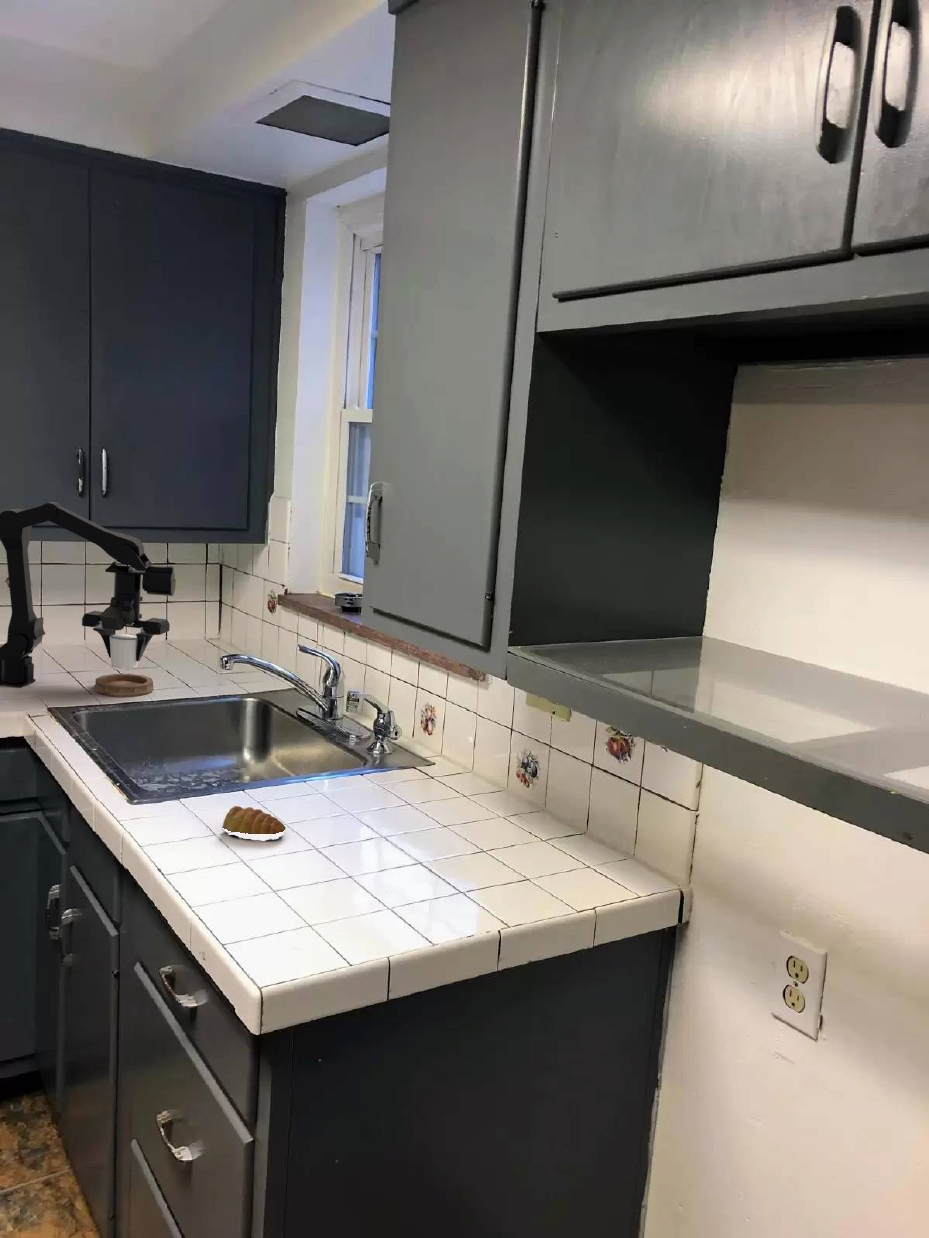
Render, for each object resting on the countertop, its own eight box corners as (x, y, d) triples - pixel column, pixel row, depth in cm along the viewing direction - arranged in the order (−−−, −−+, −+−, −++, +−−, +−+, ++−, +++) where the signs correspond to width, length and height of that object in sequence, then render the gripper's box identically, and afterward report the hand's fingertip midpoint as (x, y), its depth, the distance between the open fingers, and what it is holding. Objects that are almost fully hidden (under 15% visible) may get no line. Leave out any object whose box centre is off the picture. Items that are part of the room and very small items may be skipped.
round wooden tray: (83, 692, 222) (83, 683, 221) (110, 680, 234) (110, 671, 234) (138, 699, 220) (138, 689, 220) (162, 686, 233) (163, 677, 233)
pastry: (291, 832, 155) (293, 809, 154) (273, 848, 149) (274, 824, 148) (237, 821, 157) (239, 799, 157) (217, 837, 151) (218, 813, 150)
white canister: (144, 664, 229) (146, 635, 228) (132, 670, 223) (133, 640, 221) (116, 661, 230) (117, 631, 229) (103, 667, 223) (104, 637, 222)
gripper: (70, 592, 216) (68, 661, 219) (151, 602, 215) (148, 671, 217) (94, 586, 227) (92, 652, 230) (172, 595, 226) (168, 661, 228)
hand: (124, 659), depth 226 cm, fingers closed on white canister, 6 cm apart
